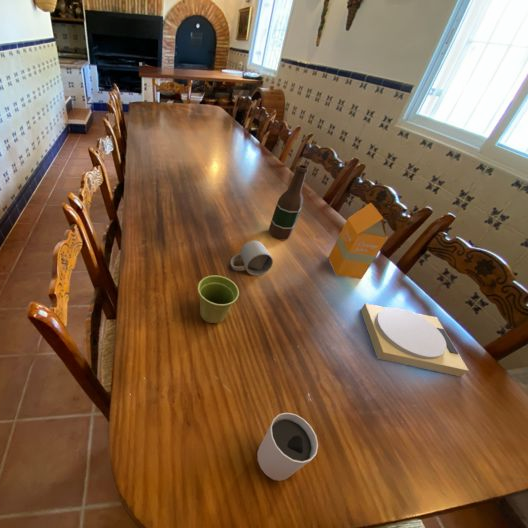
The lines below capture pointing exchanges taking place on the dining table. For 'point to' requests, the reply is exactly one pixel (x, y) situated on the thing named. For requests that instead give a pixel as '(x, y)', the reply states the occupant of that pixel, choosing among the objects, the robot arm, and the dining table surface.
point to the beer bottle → (288, 206)
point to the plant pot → (216, 297)
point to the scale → (412, 340)
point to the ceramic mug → (253, 258)
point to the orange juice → (358, 243)
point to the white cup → (286, 446)
